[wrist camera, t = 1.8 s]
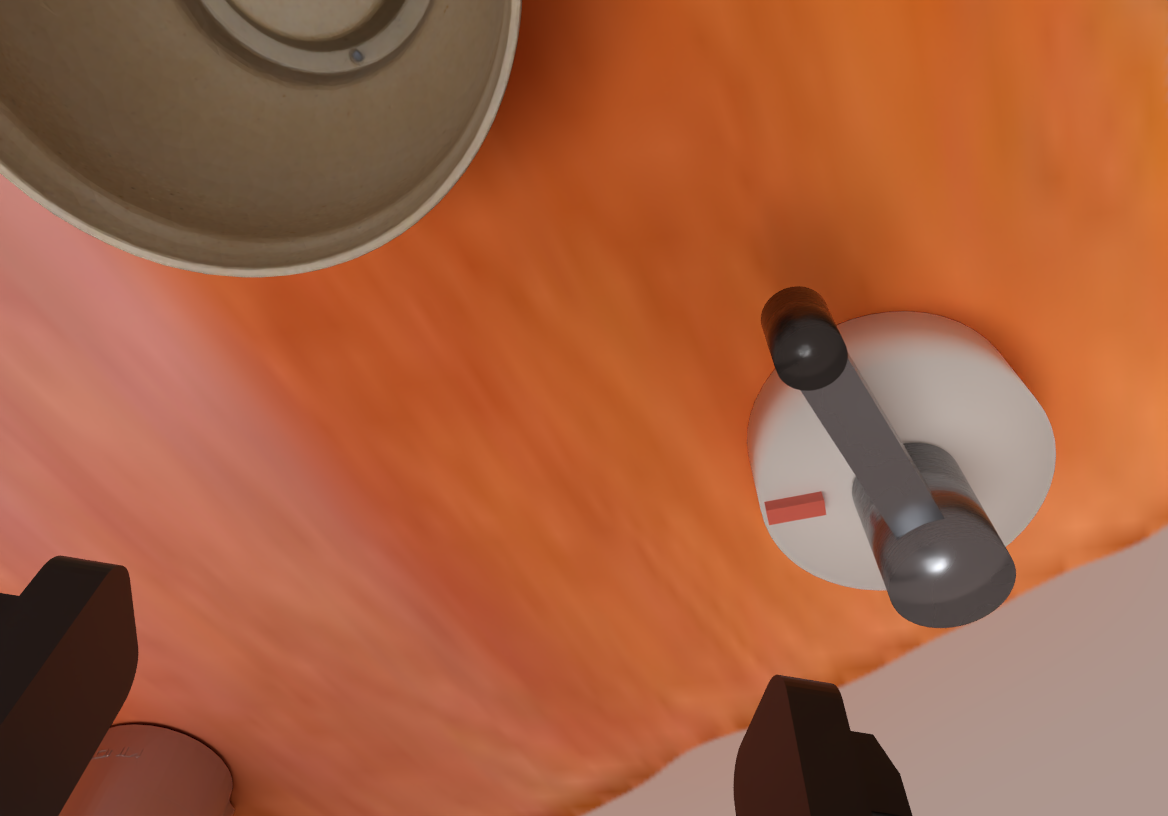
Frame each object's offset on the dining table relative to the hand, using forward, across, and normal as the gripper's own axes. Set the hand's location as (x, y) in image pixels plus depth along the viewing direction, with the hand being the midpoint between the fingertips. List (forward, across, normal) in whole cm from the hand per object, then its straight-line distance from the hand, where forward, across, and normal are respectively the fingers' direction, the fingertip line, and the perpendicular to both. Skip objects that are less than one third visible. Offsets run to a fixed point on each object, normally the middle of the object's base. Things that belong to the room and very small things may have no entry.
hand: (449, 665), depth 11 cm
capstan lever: (+22, -13, +7) cm, 27 cm away
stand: (+26, -16, +11) cm, 33 cm away
